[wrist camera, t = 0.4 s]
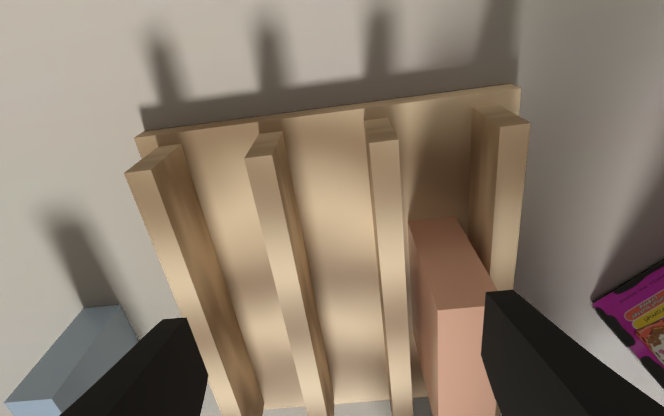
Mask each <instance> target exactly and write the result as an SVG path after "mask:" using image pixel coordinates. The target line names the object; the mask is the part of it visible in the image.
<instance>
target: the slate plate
mask: <svg viewBox="0 0 664 416" xmlns="http://www.w3.org/2000/svg"><path fill="white" fill-rule="evenodd" d="M138 342H139V341H138V339H137V337H136V335H135V333H134V331H133V329H132V327H131V325H130V323H129V321H128V319H127V317H126V315H125V313H124V311H123V309H122V307H121V305H111V306H101V307H91V308H83V310H82V311H81V312H80V313H79V314H78V316H77V317H76V318H75V319H74V320H73V321H72V323H71V324H70V325H69V326H68V327H67V329H66V330H65V331H64V332H63V333H62V335H61V336H60V337H59V338H58V339H57V340H56V342H55V343H54V344H53V345H52V346H51V348H50V349H49V350H48V351H47V352H46V353H45V355H44V356H43V357H42V358H41V359H40V361H39V362H38V363H37V364H36V365H35V367H34V368H33V369H32V370H31V371H30V372H29V374H28V375H27V376H26V377H25V378H24V380H23V381H22V382H21V383H20V384H19V385H18V387H17V388H16V389H15V390H14V391H13V393H12V394H11V395H10V396H9V397H8V399H7V400H6V401H5V402H4V404H5V405H6V406H7V407H8V409H9V410H10V411H11V413H12V414H13V415H14V416H59V415H60V414H62V413H63V412H64V411H65V410H66V409H67V408H68V407H69V406H71V405H72V404H73V403H74V402H75V401H76V400H77V399H78V398H80V397H81V396H82V395H83V394H84V393H85V392H86V391H87V390H88V389H89V388H90V387H91V386H93V385H94V384H95V383H96V382H97V381H98V380H99V379H100V378H101V377H102V376H103V375H104V374H105V373H106V372H107V371H108V370H109V369H111V368H112V367H113V366H114V365H115V364H116V363H117V362H118V361H119V360H120V359H121V358H122V357H123V356H124V355H125V354H126V353H127V352H128V351H129V350H130V349H131V348H133V347H134V346H135V345H136V344H137V343H138Z"/></svg>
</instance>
